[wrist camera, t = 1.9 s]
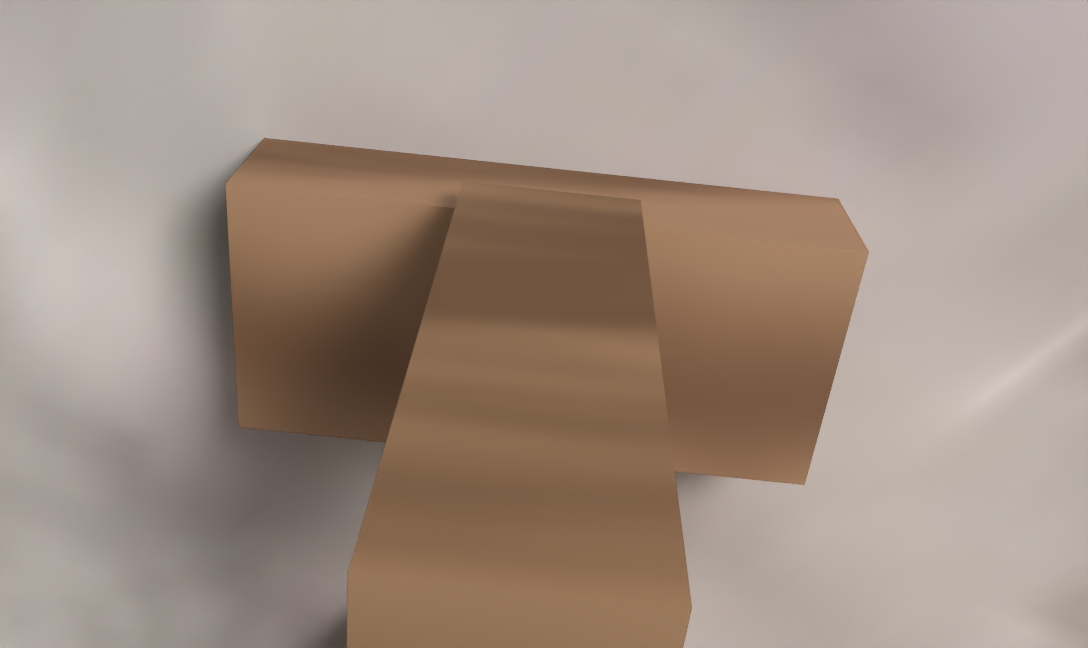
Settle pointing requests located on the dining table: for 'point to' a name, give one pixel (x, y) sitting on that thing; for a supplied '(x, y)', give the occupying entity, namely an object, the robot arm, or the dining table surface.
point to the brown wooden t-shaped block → (531, 374)
